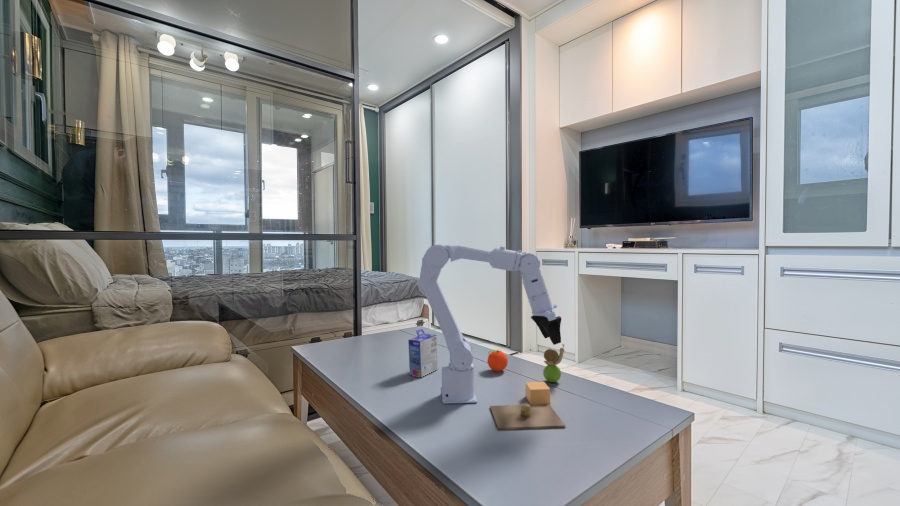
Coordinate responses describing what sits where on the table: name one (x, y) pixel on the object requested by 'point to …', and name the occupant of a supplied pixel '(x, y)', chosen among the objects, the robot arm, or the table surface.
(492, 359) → the clementine
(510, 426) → the post board
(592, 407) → the table surface
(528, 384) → the cardboard-colored cube
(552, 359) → the snail figurine
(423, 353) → the ink cartridge box
